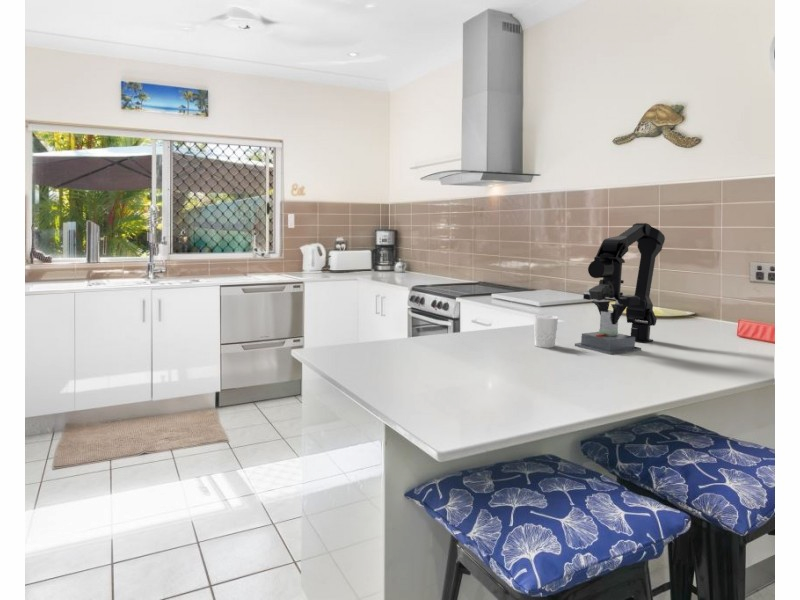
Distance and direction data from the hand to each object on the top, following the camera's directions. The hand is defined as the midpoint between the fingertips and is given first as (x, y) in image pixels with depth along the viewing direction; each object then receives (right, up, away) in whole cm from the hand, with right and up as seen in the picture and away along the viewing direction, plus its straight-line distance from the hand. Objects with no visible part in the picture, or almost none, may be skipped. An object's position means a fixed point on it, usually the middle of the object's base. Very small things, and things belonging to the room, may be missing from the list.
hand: (609, 323), depth 189 cm
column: (0, -5, +1) cm, 5 cm away
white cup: (-21, -8, +3) cm, 23 cm away
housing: (0, -8, +1) cm, 8 cm away
